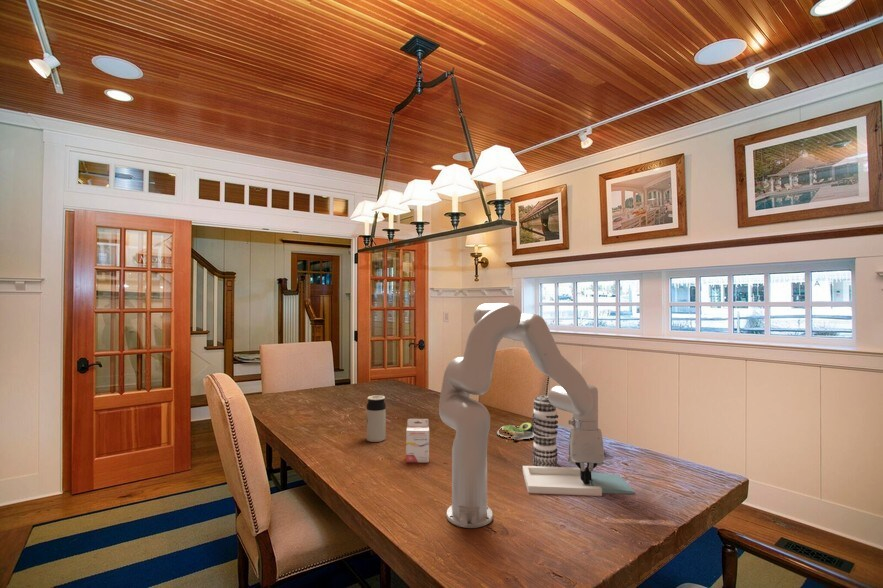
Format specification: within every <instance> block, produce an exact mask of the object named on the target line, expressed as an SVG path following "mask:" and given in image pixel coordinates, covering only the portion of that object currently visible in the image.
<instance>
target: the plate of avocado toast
mask: <svg viewBox="0 0 883 588" xmlns="http://www.w3.org/2000/svg"><path fill="white" fill-rule="evenodd" d="M515 426H517V425H511V424H508V425H503V426H501V427H500V428H499V429H498V430H497V431H496V434H497V435H498V436H499V435H500V436H504V437H509V436H508V435H507V436H506V435H504V434H503V435H502V434H500V433H499V430H500V429H501V428H502V430H505V431H508V432H509V433H510V434H511V435H512V436H513V437H511V435H510V434H509V435H510V437H511V438H512V439H514V440H513V441H518V440H517V439H529V440H531V439H530V438H532V439H534V435H533V431H532V430H533V427H532V426H533V423H531V422H529V421H528V422H523V423H520V425H519V426H517V427H519V428H516V427H515ZM534 431H535V430H534ZM524 433H527V434H524ZM500 436H499V437H500Z"/></svg>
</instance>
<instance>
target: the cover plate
mask: <svg viewBox="0 0 883 588" xmlns="http://www.w3.org/2000/svg"><path fill="white" fill-rule="evenodd" d="M590 483H591V485H592V486H597V487H601V488H602V494H623V495H624V494H626V495H627V494H628V495H634V494H635V490H634V489H633V488H632V487H631V486H630V485H629V483H628V482H627V481H626V480H625V479H624V478H623V477H622V476H621V475H620V474H613V473H612V474H610V473H603V472H593V471H592V472H591V481H590Z"/></svg>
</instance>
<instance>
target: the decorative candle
mask: <svg viewBox="0 0 883 588" xmlns="http://www.w3.org/2000/svg"><path fill="white" fill-rule="evenodd" d="M532 401H533V407H534V408H533V413H532V414H531V417H532V418H531V421H532V425H533V426H532V427H533V430H532V431H533V435H534V437H533V446H532V450H533V451H532V459H533V460H532V464H533V466H547V467H558V460H559V459H558V448H557V447H558V444H557V437H558V431H557V429H558V428H559V426H558V424H559V422H558V420H557V419H558V418H559V415H558V412H557V408H555V407H554V406H553V405H551V403H550V402H549V399H548V395H546V394H544V395H543V394H542V395H537V396H536V397H535V399H532ZM534 430H535V431H534Z"/></svg>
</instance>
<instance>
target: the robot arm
mask: <svg viewBox="0 0 883 588" xmlns="http://www.w3.org/2000/svg"><path fill="white" fill-rule="evenodd" d="M473 323H474V326H473V327H472V328H471V330H470V332H469V334H468V336H467V340H466V342H465V343H466V344H465V349H464V353H463V356H458V357H455V358H453V359H451V360H450V362H448V364H447V366H446V367H445V370H444V373H443V378H442V384H441V390H440V396H439V402H438V413H439V414H438V415H439V418H440V419H441V421H442V422H443V424H445V425H446V426H448V427H449V428H450V429H453V430H455V436H454V439H453V443H452V447H451V448H452V449H451V486H452V487H451V505H450V506H449V507H448V508H447V510H446V519H447V520H448V522H450V523H451V524H453V525H455V526H457V527H461V528H466V529H476V528H481V527H482V528H483V527H484V526H485V527H486V526H487V525H488V524H490V523H491V522H492V521H493V519H494V517H493V516H494V515H493V514H494V513H493V510H492V509H491V508H490V507H489V506H488V440H489V432H490V427H491V415H490V412H489V411H488V408H487V407H486V406H485V405H484V404H483V403H482V402H479V401H477V400H476V399H474V398H470V396H471V395H473V396H482V395H484V394H486V393H488V391H489V389H490V387H491V383H492V378H493V371H494V366H495V359H496V353H497V348H498V346H499V344H500V342H501V340H502V339H503V338H505V339H508V340H513V341H520V342H522V343H523V345H524V346H525V348H526V350H527V353H528V354H529V356H530V358H531V360H532V362H533V364H534V366H535V367H536V369H537V370H538V371H540V372H541V373H542V374H544V375H545V376H547V377H549V379H550V378H551V379H552V380H554V381H555V382H556V383H557V385H555V386H553V387H552V388H551V389H550V390H549V391H548V395H547V396H548V399H549V402H550V403H551V405H553V406H554V407H555V408H556V409H557V410H561V411H564V412H568V413H571V414H572V416H573V417H572V419H568V425H570V426H571V425H572V426H571V427H570V432H569V437H568V438H569V441H568V460H567V461H568V463H569V464H570V465H575V466H577V468H580V474H581V480H582V481H583V483H584V484H590V481H591V472H593V471H594V469H595V468H596V467H597V466H603V465H604V462H605V461H604V460H605V451H604V450H605V449H604V448H605V447H604V439H603V433H602V429H600V428H599V391H598V388H597V387H596V385H593V384H587V381H586V380H585V378H584V377H583V375H582V374H581V373H580V372H579V371H578V369H576V368H575V366H573V365H572V364H571V362H569V360H568V359H566V358H565V357H564V355H563V354H562V353H561V351H560V350H559V347H558V345H557V343H556V341H555V339H554V337H553V335H552V333H551V331H550V328H549V327H548V326H549V325H548V324H547V323H546V321H545V319H544V318H543V317H542V316H541V315H539V314H536V313H535V314H534V313H522V312H521V309H520V308H519V307H518V306H517V305H515V304H513V303H508V302H506V303H505V302H495V303H494V302H492V303H491V302H489V303H482V304H480V305H479V306H478V307H477V308H476V309H475V310H474V313H473ZM558 384H559V385H558ZM585 463H586V465H585ZM585 466H586V467H585Z"/></svg>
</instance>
